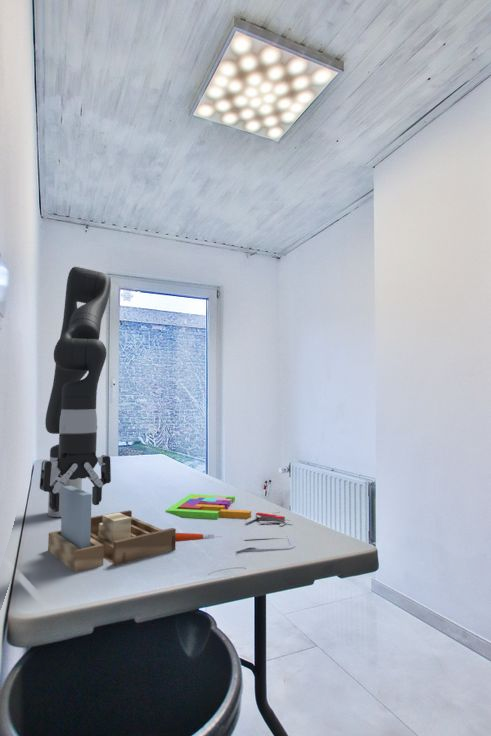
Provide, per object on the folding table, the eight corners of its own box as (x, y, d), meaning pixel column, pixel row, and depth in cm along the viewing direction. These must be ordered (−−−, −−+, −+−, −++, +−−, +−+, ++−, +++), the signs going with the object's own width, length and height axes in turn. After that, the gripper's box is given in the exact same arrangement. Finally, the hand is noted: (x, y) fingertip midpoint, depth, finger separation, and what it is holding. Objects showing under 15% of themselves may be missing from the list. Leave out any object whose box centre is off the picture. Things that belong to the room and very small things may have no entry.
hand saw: (290, 529, 109) (303, 542, 99) (289, 541, 109) (302, 556, 99) (160, 531, 103) (160, 545, 93) (159, 544, 103) (159, 560, 93)
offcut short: (102, 525, 98) (102, 515, 98) (118, 522, 101) (119, 512, 101) (113, 531, 94) (114, 520, 94) (130, 527, 96) (131, 517, 96)
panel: (60, 551, 94) (62, 486, 95) (68, 549, 95) (70, 485, 96) (80, 567, 85) (82, 495, 86) (89, 565, 86) (91, 494, 87)
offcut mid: (98, 533, 99) (98, 523, 100) (114, 529, 102) (115, 520, 102) (113, 541, 93) (113, 531, 94) (130, 537, 96) (130, 527, 96)
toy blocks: (165, 518, 127) (248, 522, 122) (165, 510, 127) (248, 514, 122) (190, 500, 149) (261, 504, 144) (190, 494, 149) (261, 497, 144)
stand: (44, 556, 94) (45, 533, 94) (76, 549, 98) (77, 527, 99) (71, 579, 82) (72, 552, 82) (106, 569, 86) (107, 544, 87)
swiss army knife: (302, 520, 124) (302, 513, 124) (279, 532, 112) (279, 524, 112) (267, 514, 130) (267, 507, 130) (243, 525, 118) (243, 517, 119)
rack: (74, 544, 102) (75, 520, 102) (129, 532, 111) (129, 510, 112) (115, 571, 86) (116, 542, 86) (175, 554, 95) (175, 528, 95)
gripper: (103, 428, 100) (101, 499, 98) (37, 431, 90) (34, 510, 89) (117, 430, 94) (115, 505, 93) (49, 433, 85) (46, 517, 83)
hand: (75, 507), depth 91 cm, fingers open, 8 cm apart
